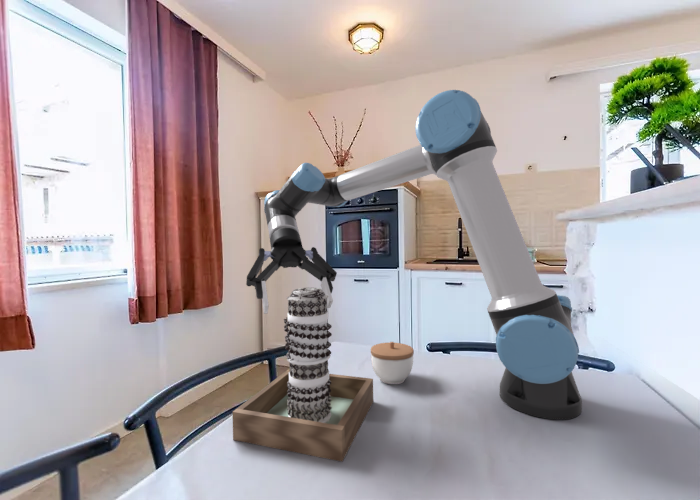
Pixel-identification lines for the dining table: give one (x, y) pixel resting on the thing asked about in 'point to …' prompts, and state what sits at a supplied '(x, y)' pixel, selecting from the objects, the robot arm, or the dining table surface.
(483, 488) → the dining table surface
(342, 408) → the wooden drawer box
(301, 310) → the decorative candle
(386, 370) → the lidded jar
